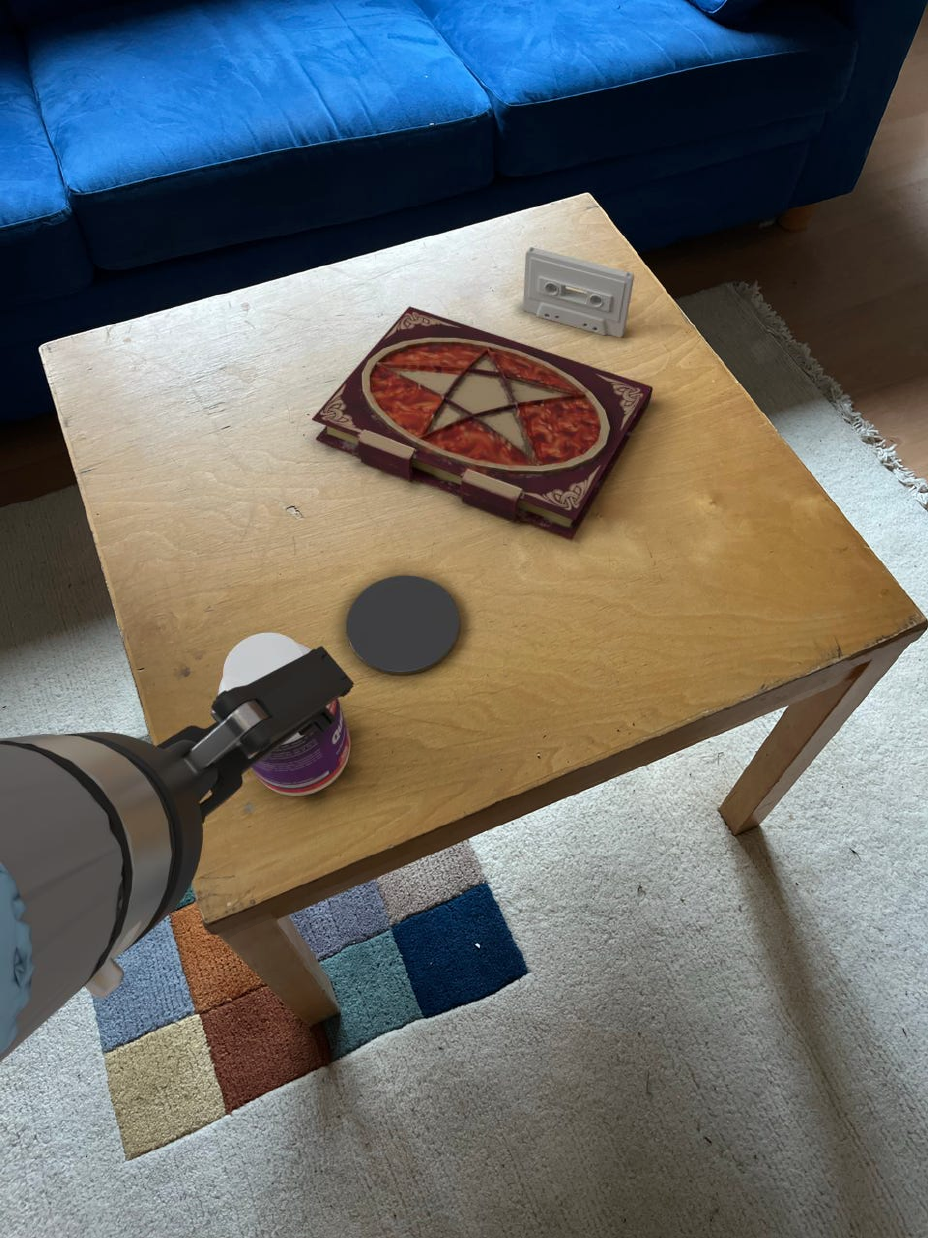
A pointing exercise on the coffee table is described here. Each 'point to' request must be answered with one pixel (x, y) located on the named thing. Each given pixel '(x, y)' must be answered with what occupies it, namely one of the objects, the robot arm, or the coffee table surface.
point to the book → (485, 419)
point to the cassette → (587, 311)
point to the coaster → (402, 625)
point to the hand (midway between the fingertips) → (211, 789)
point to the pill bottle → (300, 758)
